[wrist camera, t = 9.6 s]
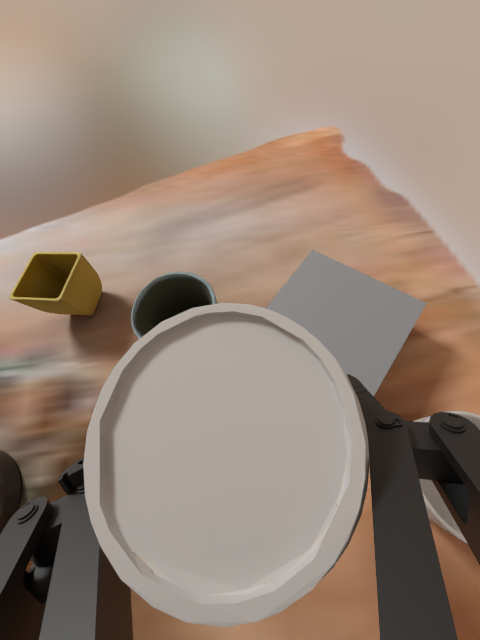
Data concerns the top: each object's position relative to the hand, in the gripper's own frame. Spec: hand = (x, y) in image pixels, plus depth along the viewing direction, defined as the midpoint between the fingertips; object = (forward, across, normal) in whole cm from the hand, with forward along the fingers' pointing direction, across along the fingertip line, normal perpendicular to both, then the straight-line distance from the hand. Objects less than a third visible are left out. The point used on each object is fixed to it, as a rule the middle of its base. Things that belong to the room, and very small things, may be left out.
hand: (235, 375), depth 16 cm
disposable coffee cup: (+1, 0, -5) cm, 5 cm away
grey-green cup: (+21, -7, -6) cm, 23 cm away
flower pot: (+30, -27, +3) cm, 41 cm away
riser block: (+19, +12, -8) cm, 24 cm away
